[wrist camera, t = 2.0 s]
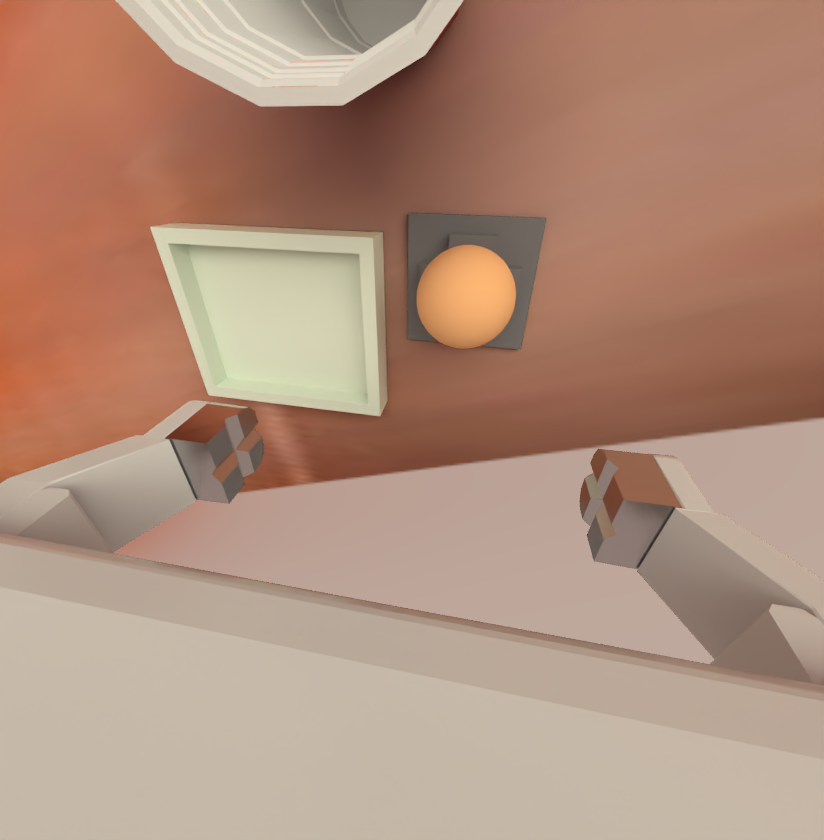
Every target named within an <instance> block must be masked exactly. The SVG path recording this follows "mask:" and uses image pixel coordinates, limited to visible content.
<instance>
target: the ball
mask: <svg viewBox="0 0 824 840" xmlns="http://www.w3.org/2000/svg"><path fill="white" fill-rule="evenodd" d="M416 299H417V310H418V314H419V317H420V319H421V322H422V324H423V325H424V327H425V328H426V330H427V331H428V332H429V334H430V335H432V336H433V337H434V338H435V339H436V340H438V341H439V342H441V343H443V344H445V345H447V346H450V347H454V348H460V349H467V348H474V347H478V346H481V345H483V344H485V343H488V342H489V341H491V340H492V339H494V338H495V337H496V336H498V335H499V334H500V333H501V332H502V330H503V329H504V328H505V327H506V325H507V324H508V322H509V320H510V318H511V316H512V313H513V311H514V307H515V300H516V287H515V282H514V279H513V276H512V273H511V271H510V269H509V267H508V266H507V264H506V263H505V262H504V261H503V260H502V258H501V257H499V256H498V255H497V254H496V253H494V252H493V251H491V250H489V249H487V248H484V247H481V246H476V245H461V246H456V247H453V248H450V249H448V250H446V251H444V252H442V253H441V254H439V255H438V256H437V257H436V258H434V259H433V260H432V261H431V262H430V263H429V265H428V266H427V267H426V269H425V270H424V272H423V274H422V276H421V278H420V281H419V284H418V288H417V296H416Z"/></svg>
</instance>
